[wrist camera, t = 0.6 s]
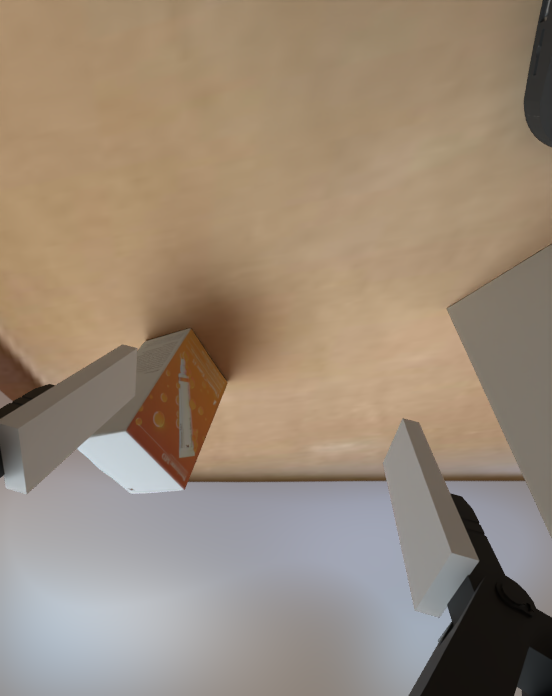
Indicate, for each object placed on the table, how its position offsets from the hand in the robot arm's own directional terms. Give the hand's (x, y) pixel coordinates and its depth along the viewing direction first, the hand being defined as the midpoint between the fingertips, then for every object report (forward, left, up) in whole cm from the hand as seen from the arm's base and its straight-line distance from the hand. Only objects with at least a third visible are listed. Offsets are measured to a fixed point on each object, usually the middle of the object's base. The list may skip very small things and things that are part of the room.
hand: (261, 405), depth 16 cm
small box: (+14, -9, -15) cm, 22 cm away
